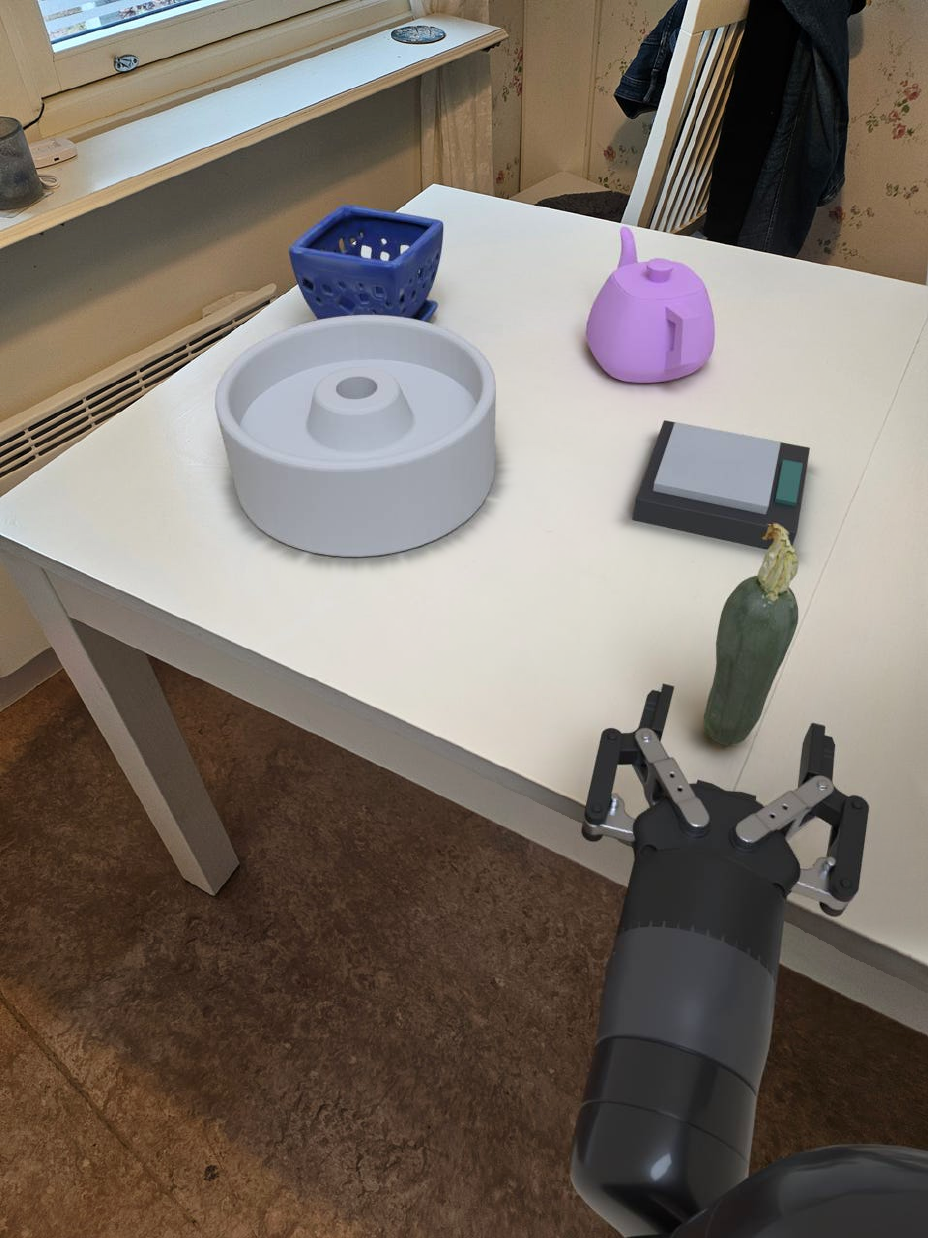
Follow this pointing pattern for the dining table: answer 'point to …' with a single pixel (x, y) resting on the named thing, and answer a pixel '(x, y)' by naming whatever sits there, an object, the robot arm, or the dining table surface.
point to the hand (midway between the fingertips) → (738, 712)
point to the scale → (722, 484)
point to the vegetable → (752, 642)
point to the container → (359, 433)
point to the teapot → (650, 319)
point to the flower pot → (368, 264)
